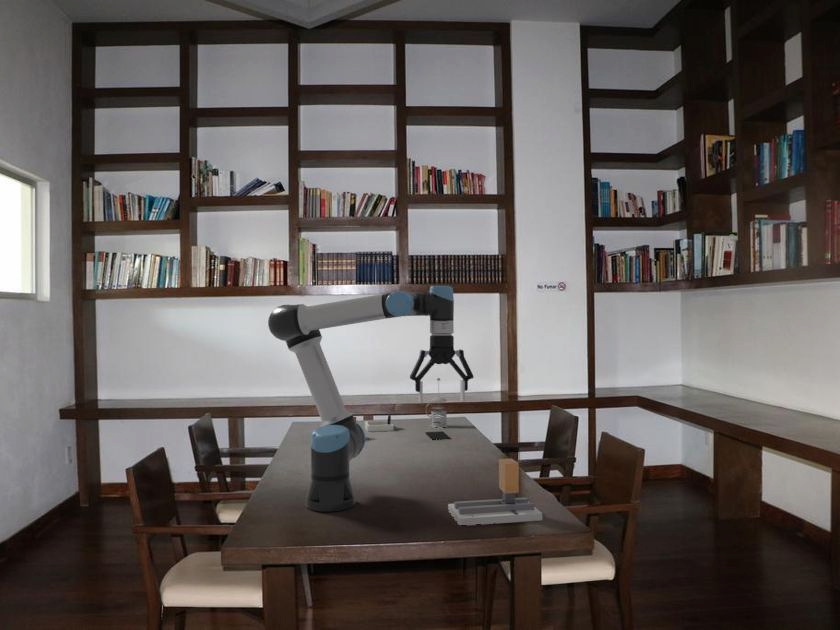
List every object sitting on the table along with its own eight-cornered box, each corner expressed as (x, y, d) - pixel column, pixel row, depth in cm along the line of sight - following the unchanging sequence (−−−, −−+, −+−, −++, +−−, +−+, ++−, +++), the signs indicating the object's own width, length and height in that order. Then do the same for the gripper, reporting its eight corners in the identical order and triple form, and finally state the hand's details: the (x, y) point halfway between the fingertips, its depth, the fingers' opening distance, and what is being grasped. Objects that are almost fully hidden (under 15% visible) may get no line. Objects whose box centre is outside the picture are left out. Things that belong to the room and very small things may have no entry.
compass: (374, 428, 329) (374, 414, 329) (390, 427, 330) (390, 413, 330) (375, 431, 321) (375, 416, 321) (391, 430, 322) (391, 416, 322)
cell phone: (442, 433, 316) (442, 431, 316) (451, 440, 299) (451, 438, 299) (425, 433, 315) (425, 432, 315) (432, 441, 297) (432, 439, 297)
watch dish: (367, 431, 319) (367, 425, 319) (364, 427, 332) (364, 421, 332) (393, 430, 322) (393, 424, 321) (390, 426, 334) (389, 420, 334)
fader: (504, 510, 185) (504, 463, 184) (498, 503, 190) (498, 459, 190) (519, 509, 185) (519, 463, 185) (512, 503, 191) (512, 458, 191)
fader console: (459, 525, 178) (459, 512, 178) (448, 510, 192) (448, 498, 192) (542, 520, 182) (542, 507, 182) (525, 505, 196) (525, 493, 196)
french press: (448, 428, 327) (448, 378, 327) (425, 428, 327) (425, 379, 327) (448, 424, 337) (447, 377, 337) (425, 425, 337) (425, 377, 337)
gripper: (404, 335, 199) (404, 404, 199) (483, 334, 203) (483, 402, 203) (400, 334, 206) (400, 401, 206) (476, 333, 211) (476, 399, 211)
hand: (441, 401), depth 205 cm, fingers open, 13 cm apart
